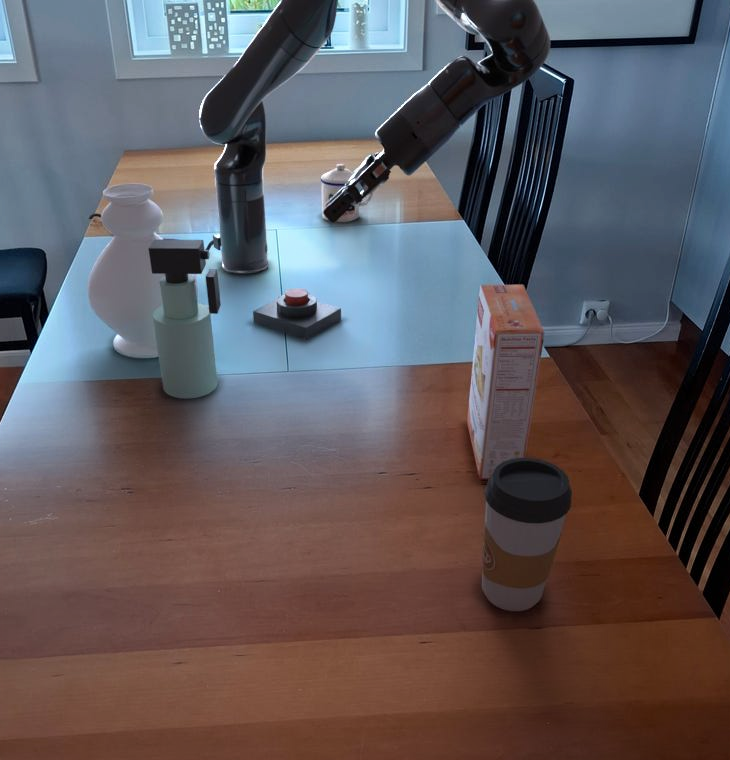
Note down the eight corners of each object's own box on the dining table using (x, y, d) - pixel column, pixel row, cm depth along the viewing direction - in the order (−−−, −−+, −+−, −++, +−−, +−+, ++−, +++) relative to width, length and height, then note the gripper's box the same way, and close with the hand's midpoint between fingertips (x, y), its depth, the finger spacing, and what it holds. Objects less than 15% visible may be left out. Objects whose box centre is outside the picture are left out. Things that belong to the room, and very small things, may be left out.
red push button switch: (253, 322, 144) (252, 301, 141) (289, 304, 150) (288, 283, 147) (306, 339, 138) (305, 317, 135) (341, 319, 144) (341, 298, 142)
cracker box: (463, 424, 115) (478, 282, 102) (506, 424, 115) (526, 282, 102) (475, 481, 104) (494, 329, 91) (523, 481, 103) (548, 329, 91)
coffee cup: (464, 569, 90) (477, 457, 81) (537, 564, 91) (559, 452, 82) (482, 622, 84) (499, 507, 74) (561, 616, 84) (588, 501, 75)
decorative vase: (163, 311, 148) (143, 168, 133) (224, 340, 138) (210, 189, 123) (77, 342, 138) (45, 191, 123) (137, 376, 128) (110, 216, 113)
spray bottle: (157, 398, 122) (135, 254, 109) (169, 372, 129) (149, 233, 116) (217, 399, 122) (202, 254, 108) (226, 373, 128) (212, 234, 115)
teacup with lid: (321, 223, 187) (320, 170, 180) (321, 211, 194) (320, 159, 187) (373, 222, 187) (374, 169, 180) (371, 210, 194) (372, 158, 187)
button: (280, 303, 141) (280, 293, 140) (295, 295, 144) (294, 286, 143) (298, 308, 139) (298, 298, 138) (312, 301, 142) (312, 291, 141)
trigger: (209, 313, 116) (205, 276, 113) (212, 305, 119) (209, 268, 115) (217, 313, 116) (213, 276, 113) (220, 305, 119) (217, 269, 115)
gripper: (398, 107, 115) (314, 188, 121) (401, 107, 102) (307, 198, 108) (431, 150, 117) (347, 227, 123) (438, 155, 105) (344, 242, 110)
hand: (328, 214), depth 115 cm, fingers open, 8 cm apart
